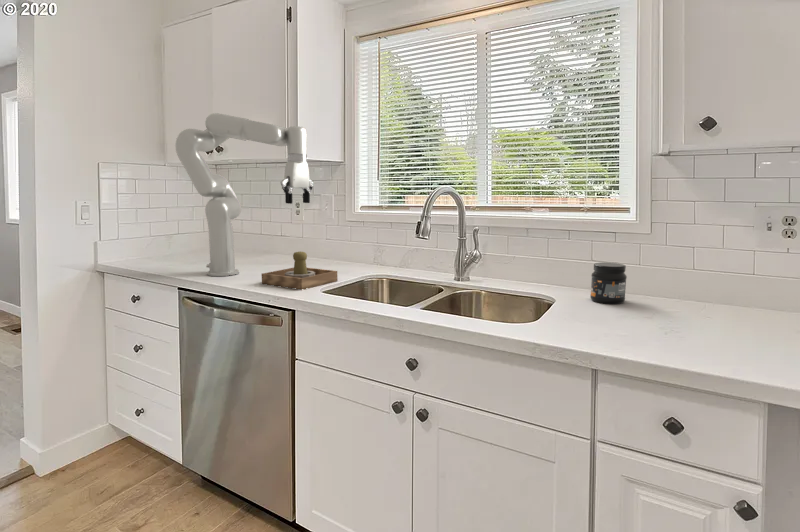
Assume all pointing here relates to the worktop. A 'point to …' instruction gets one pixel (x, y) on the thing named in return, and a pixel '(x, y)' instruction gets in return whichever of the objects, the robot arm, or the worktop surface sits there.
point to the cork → (300, 263)
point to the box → (299, 278)
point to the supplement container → (608, 283)
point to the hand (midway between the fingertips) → (297, 203)
